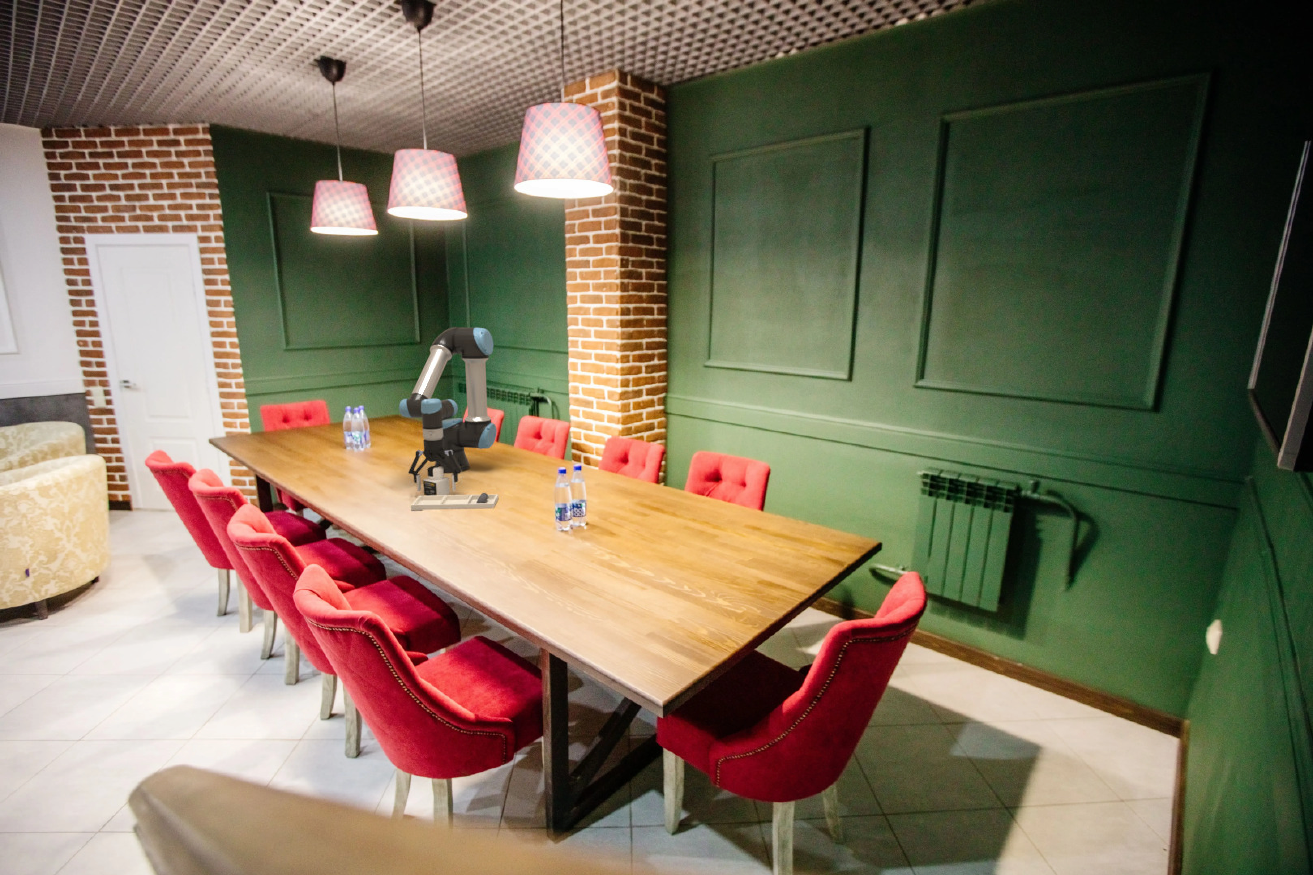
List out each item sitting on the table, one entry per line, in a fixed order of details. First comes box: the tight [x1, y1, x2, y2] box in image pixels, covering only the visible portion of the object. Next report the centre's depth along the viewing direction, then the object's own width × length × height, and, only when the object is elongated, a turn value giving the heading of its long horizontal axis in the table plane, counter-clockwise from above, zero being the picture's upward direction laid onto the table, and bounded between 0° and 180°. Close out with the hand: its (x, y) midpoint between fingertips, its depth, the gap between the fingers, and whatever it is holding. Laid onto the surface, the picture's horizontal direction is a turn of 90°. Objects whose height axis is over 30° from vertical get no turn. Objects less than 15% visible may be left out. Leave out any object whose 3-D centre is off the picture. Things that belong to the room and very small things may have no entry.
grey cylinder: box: [477, 492, 489, 503], centre depth 243 cm, size 8×3×3 cm, turn 5°
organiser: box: [410, 494, 499, 512], centre depth 242 cm, size 12×30×2 cm, turn 95°
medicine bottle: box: [422, 465, 451, 496], centre depth 252 cm, size 7×7×12 cm
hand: (436, 490), depth 253 cm, fingers open, 13 cm apart
